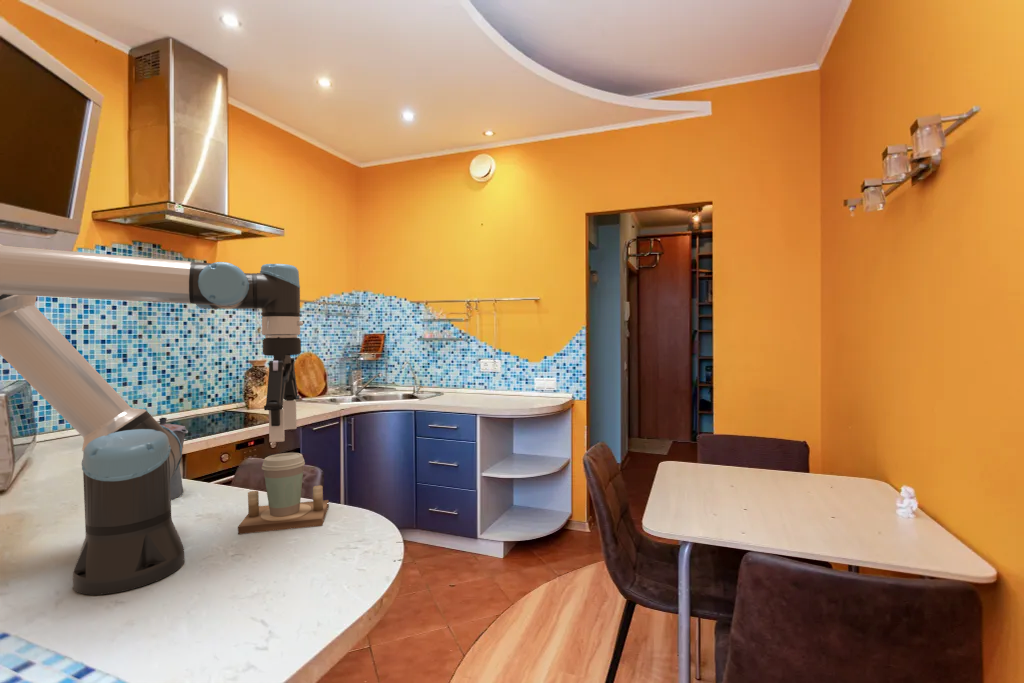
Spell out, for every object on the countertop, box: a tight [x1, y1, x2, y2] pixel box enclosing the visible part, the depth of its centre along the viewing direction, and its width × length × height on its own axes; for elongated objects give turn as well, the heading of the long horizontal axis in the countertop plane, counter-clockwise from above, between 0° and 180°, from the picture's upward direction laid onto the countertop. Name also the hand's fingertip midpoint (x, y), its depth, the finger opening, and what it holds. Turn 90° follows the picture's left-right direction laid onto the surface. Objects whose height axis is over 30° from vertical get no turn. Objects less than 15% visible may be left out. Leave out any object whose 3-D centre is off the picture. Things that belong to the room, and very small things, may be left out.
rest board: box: [237, 485, 330, 535], centre depth 109 cm, size 12×16×6 cm
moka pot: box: [158, 417, 189, 500], centre depth 125 cm, size 10×15×20 cm, turn 89°
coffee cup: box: [261, 452, 306, 516], centre depth 109 cm, size 8×8×12 cm
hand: (283, 435), depth 109 cm, fingers open, 13 cm apart
